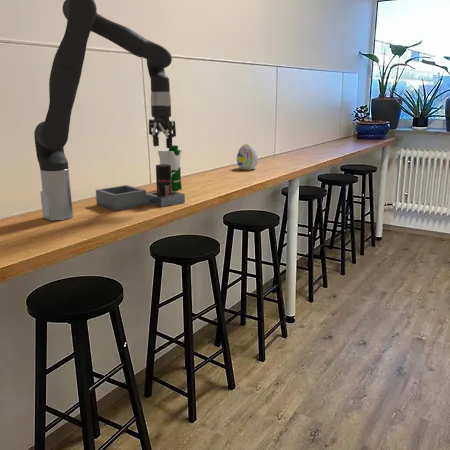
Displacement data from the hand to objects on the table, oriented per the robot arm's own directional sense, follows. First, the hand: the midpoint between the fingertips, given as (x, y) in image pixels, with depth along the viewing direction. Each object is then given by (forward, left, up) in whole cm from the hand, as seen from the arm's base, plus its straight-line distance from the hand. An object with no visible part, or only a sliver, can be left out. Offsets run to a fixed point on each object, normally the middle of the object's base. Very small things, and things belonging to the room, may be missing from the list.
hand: (162, 147), depth 176 cm
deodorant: (0, 0, -22) cm, 22 cm away
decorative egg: (+85, +34, -22) cm, 94 cm away
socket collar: (0, 0, -22) cm, 22 cm away
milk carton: (+17, +18, -22) cm, 33 cm away
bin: (-15, +8, -22) cm, 28 cm away
